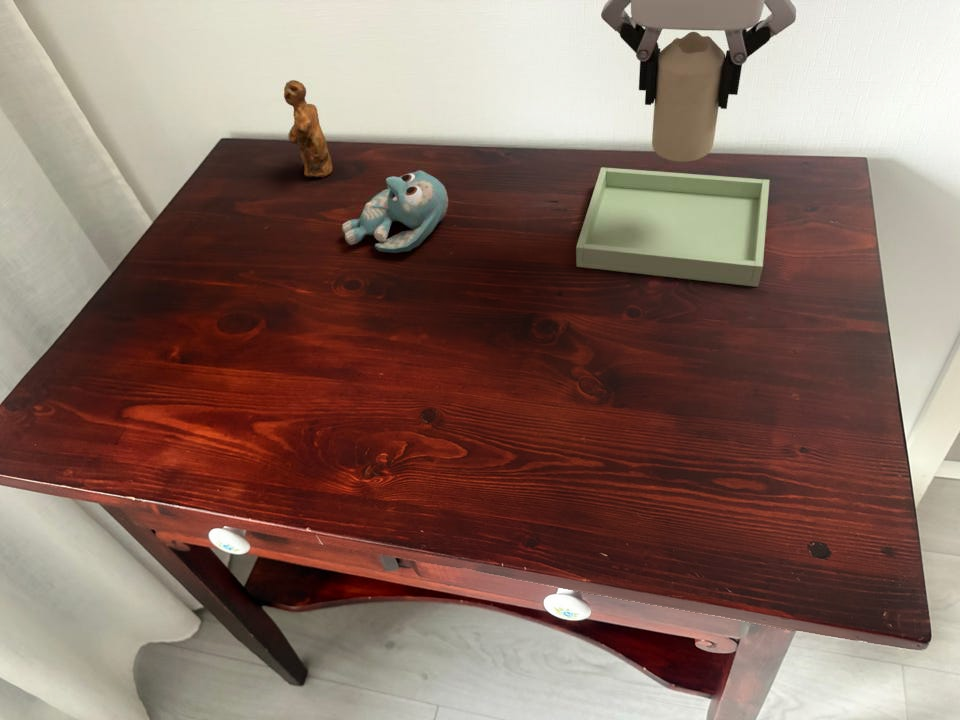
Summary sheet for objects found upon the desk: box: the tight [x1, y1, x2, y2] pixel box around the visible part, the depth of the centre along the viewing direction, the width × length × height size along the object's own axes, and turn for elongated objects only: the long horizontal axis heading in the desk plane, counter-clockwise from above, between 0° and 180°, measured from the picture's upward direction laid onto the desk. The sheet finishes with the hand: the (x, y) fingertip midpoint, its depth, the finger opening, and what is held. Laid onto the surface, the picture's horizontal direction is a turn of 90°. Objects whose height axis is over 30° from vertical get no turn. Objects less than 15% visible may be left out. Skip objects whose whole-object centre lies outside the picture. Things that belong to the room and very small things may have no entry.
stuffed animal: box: [341, 169, 449, 254], centre depth 80 cm, size 11×7×12 cm
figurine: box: [283, 79, 334, 179], centre depth 87 cm, size 5×6×12 cm
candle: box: [651, 31, 726, 163], centre depth 66 cm, size 6×6×10 cm
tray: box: [575, 167, 771, 288], centre depth 76 cm, size 17×13×3 cm
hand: (687, 96), depth 66 cm, fingers closed on candle, 5 cm apart
